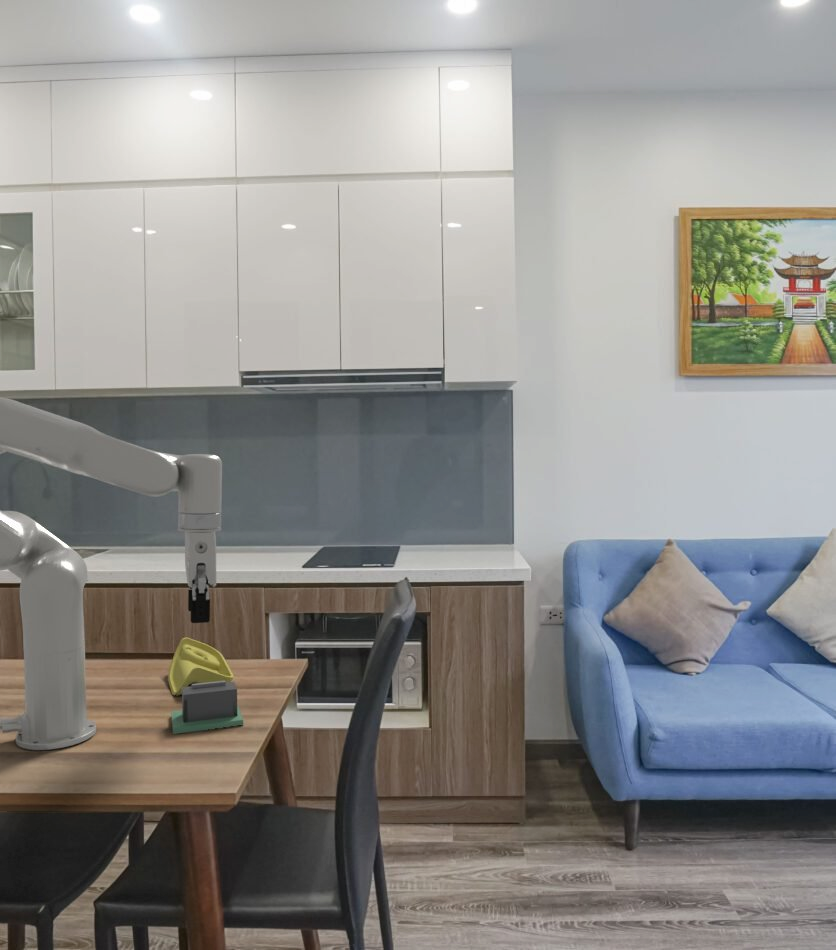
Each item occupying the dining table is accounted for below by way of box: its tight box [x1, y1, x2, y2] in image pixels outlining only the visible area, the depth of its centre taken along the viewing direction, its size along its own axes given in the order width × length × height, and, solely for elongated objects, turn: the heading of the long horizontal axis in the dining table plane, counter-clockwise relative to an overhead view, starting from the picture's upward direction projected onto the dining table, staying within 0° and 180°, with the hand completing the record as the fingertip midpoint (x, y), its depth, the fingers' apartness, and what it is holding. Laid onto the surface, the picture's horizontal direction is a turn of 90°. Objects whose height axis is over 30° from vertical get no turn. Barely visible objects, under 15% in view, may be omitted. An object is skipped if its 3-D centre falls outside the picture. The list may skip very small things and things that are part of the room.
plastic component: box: [167, 637, 234, 697], centre depth 165 cm, size 20×7×10 cm
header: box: [171, 703, 244, 735], centre depth 141 cm, size 12×9×4 cm
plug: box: [181, 681, 238, 722], centre depth 141 cm, size 9×4×6 cm, turn 110°
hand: (198, 616), depth 140 cm, fingers open, 9 cm apart
